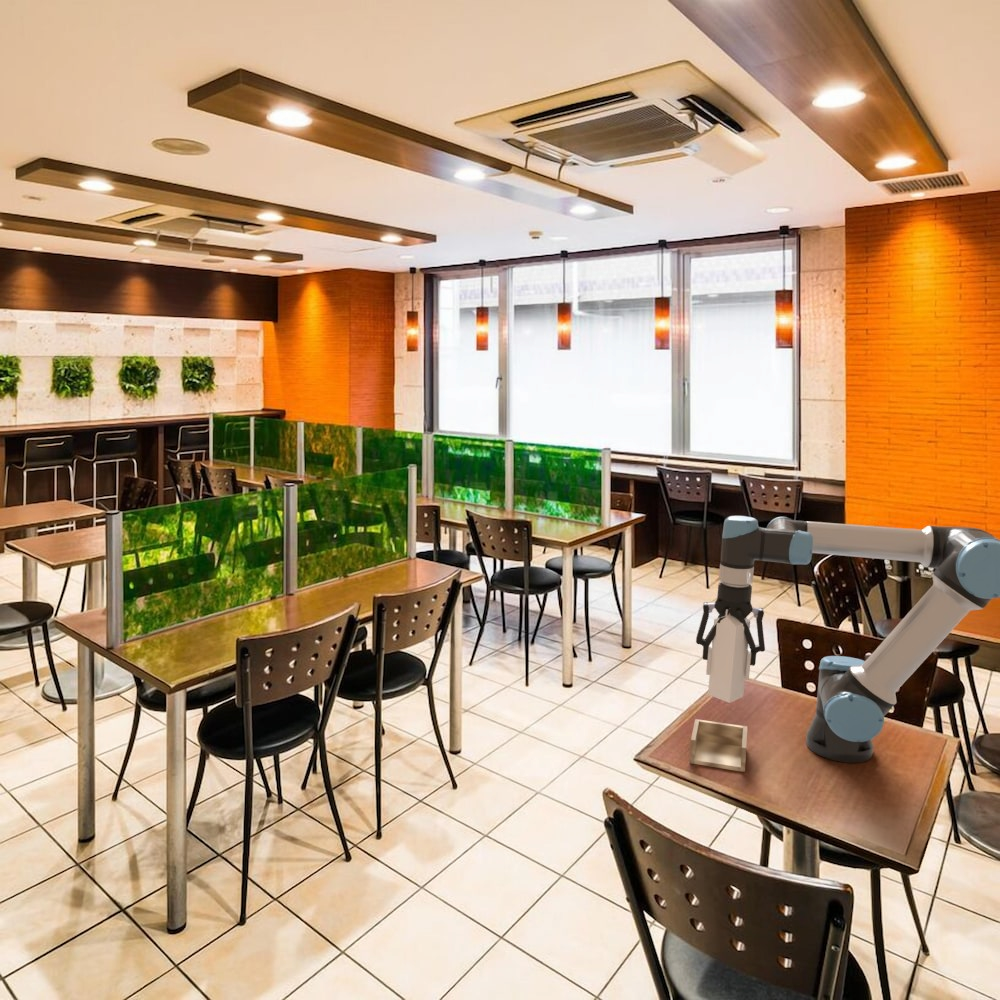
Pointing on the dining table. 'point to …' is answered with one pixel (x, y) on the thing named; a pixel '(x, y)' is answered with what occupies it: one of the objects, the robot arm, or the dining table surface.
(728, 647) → the milk
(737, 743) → the u rest
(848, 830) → the dining table surface
